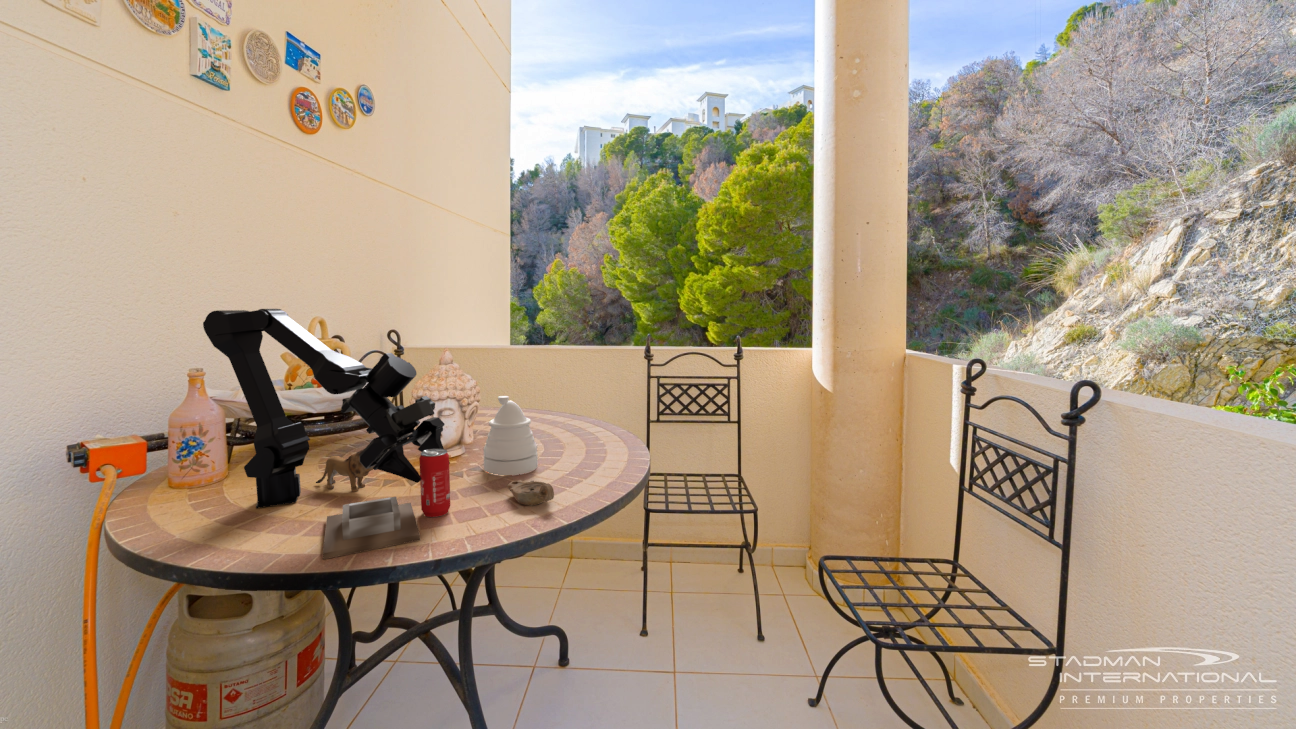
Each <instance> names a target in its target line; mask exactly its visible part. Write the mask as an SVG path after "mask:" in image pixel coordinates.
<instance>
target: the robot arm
mask: <svg viewBox="0 0 1296 729" xmlns="http://www.w3.org/2000/svg"><path fill="white" fill-rule="evenodd" d="M202 326H203V327H202V328H203V330H204V332H205V334H206V336H207V338H208V339H209V342H211V344H212V346H213V347H214V348H216V349H217V350H218V351H220V352H221V353H222V354H223V355H224V356H226V357H227V359H228V360H229V361H230V364H231V366H232V369H233V372H234V373H235V376H236V380H237V381H238V384H239V385H240V386H239V387H240V388H241V391H242V394H243V396H244V398H245V402H246V404H247V406H248V408H249V410H250V412H251V415H252V417H253V420H254V423H255V425H256V430H255V434H254V438H253V447H254V451H255V454H254V456H253V457H252V458H250V459H249V461H248V462H247V463H246V464H245V465H244V466H243V470H244V472H245V474H246V476H247V478H252V479H253V478H254V479H255V486H256V498H257V502H256V505H255V508H256V509H262V508H269V507H273V506H275V507H276V506H282V505H288V504H289V505H291V504H294V503H297V501H298V498H299V497H300V496H301V493H302V492H301V490H302V489H301V477H300V473H297V470H296V469H297V467H301V466H303V465H304V462H305V457H306V456H307V455H308V451H310V444H309V443H310V442H309V441H311V438H310V437H309V436H308V435H307V432H306V428H305V424H303V423H302V422H301V421H299V422H297V423H294V422H293V421H292V420H291V419H289V418H288V417H287V415H286V413H285V410H284V408H283V406H282V402H281V400H280V398H279V395H278V393H277V390H276V388H275V386H274V383H273V380H272V379H271V376H270V374H269V371H268V368H267V367H266V364H265V361H264V359H263V356H262V353H261V345H262V342H263V337H264V336H263V332H265V333H266V334H268V335H269V336H270V337H271V338H273V339H274V340H275V341H276V342H278V343H279V344H280V345H281V346H282V347H284V348H285V349H286V350H287V351H289V352H290V353H291V354H293V355H294V356H295V357H297V359H299V360H301V361H302V362H303V363H305V365H307V366H308V368H310V369H311V371H312V374H313V377H314V379H315V381H317V383H318V384H319V385H320V386H321V387H322V388H323V389H324V390H325V391H326V393H329V394H331V395H341V394H345V393H350V392H351V393H352V392H353V393H352V394H351V396H350V397H346V398H342V399H341V400H342V404H341V408H340V412H341V414H347V413H349V412H355V413H356V414H357V415H358V416H359V417H360V418H361V419H362V420H363V421H364V422H365V423H366V424H367V425H368V427H367V428H366V429H365V431H366V432H367V433H368V435H369V434H370V435H371V434H373V433H375V435H377V436H378V437H375V438H373V439H372V440H371V441H370V442H369V443H368V444H367V446H366V447H365V448H363V449H364V450H363V449H362V450H363V451H362V452H361V453H360V455H359V459H360V463H361V464H362V465H363V466H364V467H365V468H366V469H369V468H371V467H373V466H374V467H373V471H376V470H377V471H382V472H386V473H388V474H392V475H395V476H397V477H401V478H403V479H407V480H408V481H411V482H414V483H417V484H418V483H420V480H421V479H422V478H421V476H420V472H418V471H417V469H416V468H415V467H414V465H413V464H412V463H411V461H410V460H408V458H407V457H406V455H405V453H404V452H405V451H404V446H407V445H408V444H411V443H412V444H413V446H416V447H418V448H417V451H419V452H420V453H421V452H423V451H426V450H430V449H445V448H444V446H443V442H442V439H441V436H442V433H443V431H444V426H445V423H444V422H443V420H442V419H441V418H440V417H436V416H435V417H434V416H433V415H435V411H434V410H435V409H436V403H435V401H433V400H432V399H431V398H430V397H429V396H427V395H424V396H421V397H420V398H418V399H415V402H414V403H411V404H409V405H407V406H405V407H404V405H401V404H400V405H397V406H396V405H395V404H393V403H392V401H391V400H390V399H389V398H395V397H398V396H399V395H400V394H401V393H402V391H403V390H404V389H405V388H406V387H407V386H408V385H409V384H410V383H411V382H412V381H413V379H414V378H415V377H416V376H417V370H416V368H415V367H414V365H413V364H412V363H411V362H407V360H405V359H403V358H401V357H399V356H396V355H395V354H394V353H392V352H387V353H383V354H382V356H381V357H380V358H379V361H378V362H377V363H376V364H375V365H374V366H373V367H372V368H371V367H367V366H366V365H364V363H361V362H360V361H359V360H356V359H354V358H353V357H352V356H349V355H347V354H346V355H345V354H343V353H340V352H337V351H336V350H335V351H334V350H333V349H331V348H330V347H328V346H327V345H326V344H325V343H323V342H322V341H321V340H320V339H318V338H317V337H315V335H313V334H312V333H310V332H309V331H308V330H307V329H305V327H303V326H301V325H300V324H299V323H298V322H296V321H295V320H294V319H292V318H291V317H290V316H289V314H288V313H287V311H285V310H283V309H280V308H260V309H258V310H252V311H251V310H245V309H243V310H242V309H241V310H239V309H235V310H232V309H231V310H230V309H229V310H227V309H226V310H225V309H224V310H222V309H221V310H213V311H210V312H209V313H208V314H207V315H206V316H205V320H204V321H203V324H202ZM430 416H433V417H430ZM426 417H430V418H427V419H425V420H422V419H424V418H426ZM419 420H420V421H419ZM421 420H422V422H421ZM450 464H451V462H450V461H449V465H450Z"/></svg>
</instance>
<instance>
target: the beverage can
mask: <svg viewBox="0 0 1296 729" xmlns="http://www.w3.org/2000/svg"><path fill="white" fill-rule="evenodd" d="M449 462H450V454H449V453H448V450H447V449H445V448H444V449H430V450H426V451H423V452H421V451H420V456H419V475H420V476H421V478H422V479H421V480H420V482H419V483H420V507H421V511H422V513H423V516H424V517H427V518H439V517H443V516H445V515H448V513H449V510H450V508H451V506H452V503H451V485H450V484H451V482H450V481H451V480H450V474H451V473H450V464H449Z"/></svg>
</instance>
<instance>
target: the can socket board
mask: <svg viewBox="0 0 1296 729" xmlns="http://www.w3.org/2000/svg"><path fill="white" fill-rule="evenodd" d="M324 530H325V531H324V538H323V539H324V540H323V548H322V560H328V559H333V558H338V557H342V556H343V557H344V556H347V555H353V554H356V553H357V554H358V553H362V552H367V551H372V550H379V549H382V548H386V547H387V548H389V547H392V546H398V545H403V544H409V543H412V542H418V541H421V534H420V530H419V527H418V523H417V520H416V515H415V513H414V509H413V505H412V502H407V503H401V504H399V503H398V499H397V496H391V497H385V498H379V499H372V500H365V501H360V502H352V503H347V504H342V512H341V513H340V514H334V515H332V514H331V515H327V516H326V521H325V529H324Z"/></svg>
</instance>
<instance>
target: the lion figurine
mask: <svg viewBox="0 0 1296 729" xmlns="http://www.w3.org/2000/svg"><path fill="white" fill-rule="evenodd" d="M364 449H365V448H363V449H361V450H359V451H356V453H353V454H350V455H349V457H348V458H343V457H341V456H338V455H332V456H329V458H327V460H326V463H325V468H324V473H323V475H322V477H321V478H320V479H319V480H317V481H315V484H321V483H322V482H323V481H324V480H325V479H326V477H327V479H326V483H327V489H328V490H333V489H335V485H333V484H335V483H336V482H337V481H336V479H334V477H335V475H340V476H343V477H349V478H348V479H349V482H350V489H351V493H356V492H359V489H360V488H365V487H366V484H365V483H362V482H363V479H364V478H363V477H366V476H368V475H369V473H370V472H371V471H374V469H373V467H374V466H373V467H371V468H369V469H366V468H365V467H364V466H363V465H362V464H361V463H360V459H359V455H360V453H361V452H362V451H363V450H364Z"/></svg>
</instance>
